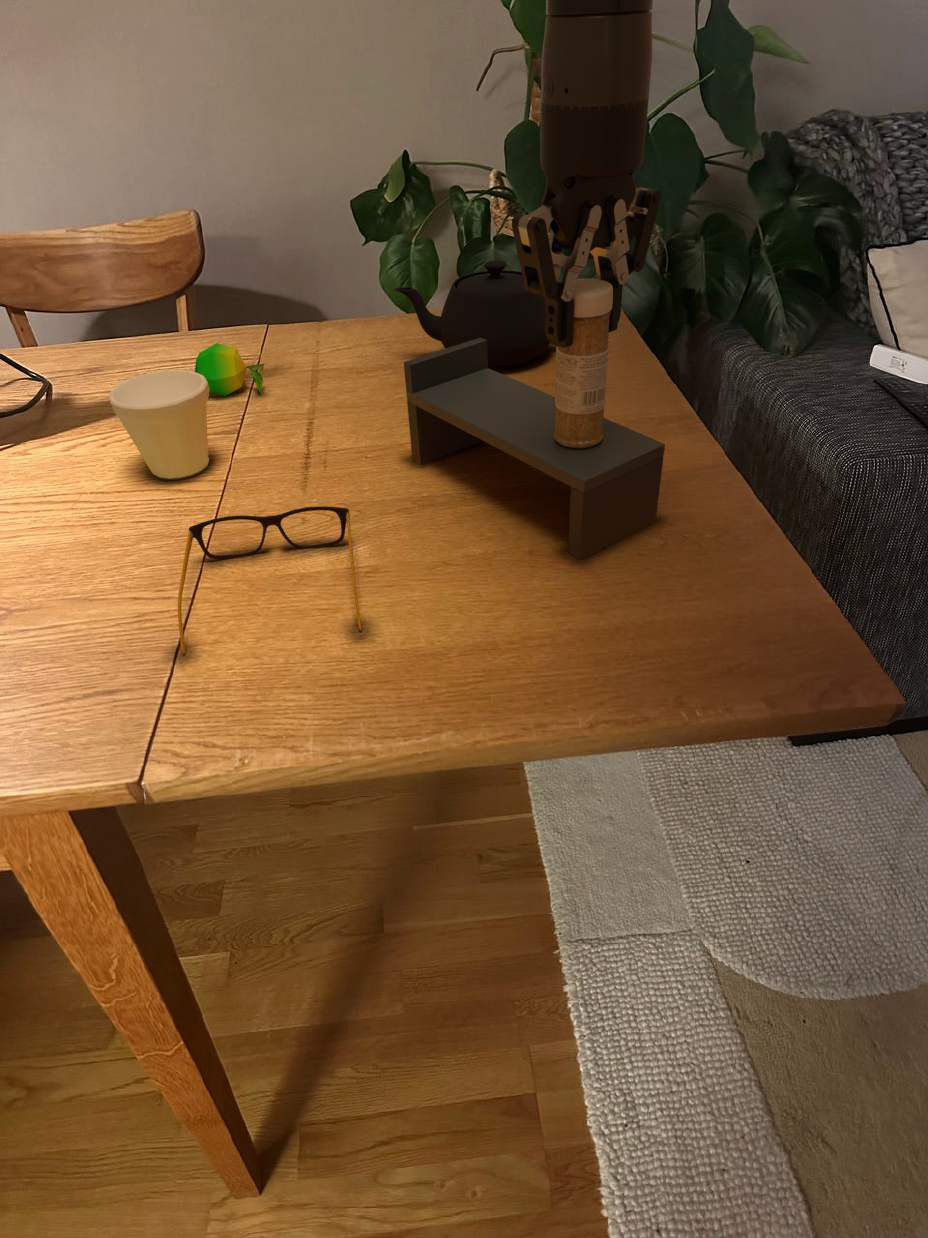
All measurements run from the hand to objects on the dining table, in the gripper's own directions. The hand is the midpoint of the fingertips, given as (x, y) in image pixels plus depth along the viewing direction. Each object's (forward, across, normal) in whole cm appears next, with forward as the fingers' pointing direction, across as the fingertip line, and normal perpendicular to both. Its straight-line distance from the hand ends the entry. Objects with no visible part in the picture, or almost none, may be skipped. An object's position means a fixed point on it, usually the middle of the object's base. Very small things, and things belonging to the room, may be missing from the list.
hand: (583, 335), depth 67 cm
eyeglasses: (+18, -28, +8) cm, 34 cm away
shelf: (+17, 0, +8) cm, 19 cm away
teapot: (+17, +21, +38) cm, 47 cm away
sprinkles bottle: (+10, 0, 0) cm, 10 cm away
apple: (+17, -11, +52) cm, 56 cm away
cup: (+17, -25, +36) cm, 47 cm away
